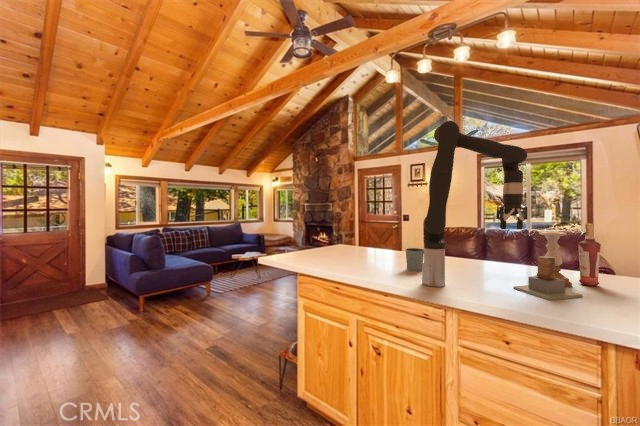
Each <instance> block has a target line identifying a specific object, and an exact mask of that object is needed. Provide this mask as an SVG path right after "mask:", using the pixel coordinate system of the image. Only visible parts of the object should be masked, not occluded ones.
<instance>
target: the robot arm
mask: <svg viewBox="0 0 640 426" xmlns="http://www.w3.org/2000/svg"><path fill="white" fill-rule="evenodd" d="M433 138H434V140H435V142H437V151H436V155H435V157H434V161H433V164H432V166H431V170H430V174H429V175H430V176H429V181H428V183H429V185H428V197H429V202H428V203H429V204H428V209H427V212H426V213H427V214H426V216H425V217H424V219H423V224H422V225H423V229H422V230H423V235H422V236H423V250H424V255H423V264H422V271H421V272H422V273H421V274H422V276H421V282H422V284H424V285H426V286H427V287H432V288H433V287H434V288H437V287H438V288H442V287H444V286H446V240H445V229H446V226H447V219H446V218H447V203H448V198H449V196H450V190H451V186H452V178H453V171H454V170H453V169H454V158H455V152H456V151H455V150H456V147H457V148H461V149H465V150H469V151H471V152H475V153H478V154H480V155H482V156H486V157H488V158H491V159H501V165H502V170H503V173H504V174H503V175H504V177H503V187H502V204H503V205H497V207H496V217H495V218H496V220H498V221H500V224H499V227H500V229H501V230H506V229H507V220H508V218H509V217H514V218H515V219H516V230H522V229H523V228H524V224H523V223H524V221H525V220H526V221H527V220H528V207H527V206H524V205H523V206H522V204H523V203H524V202H523V201H524V200H523V199H524V183H523V182H524V172H523V171H522V169H520V167H519V164H522V163H523V162H525V161H526V160H527V158H528V152H527V151H526V149H524V148H523V147H521V146H517V145H512V144H506V143H501V142H498V141H496V140H493V139H490V138H487V137H482V136H481V137H480V136H475V135H474V136H473V135H469V134H464V133H461V132H460V127H459V124H458V123H457V122H456V121H454V120H446V121H443V122H442V123H441V124H440V125H438V126H437V128H435V130H434V133H433Z"/></svg>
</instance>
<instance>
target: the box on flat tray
mask: <svg viewBox="0 0 640 426" xmlns="http://www.w3.org/2000/svg"><path fill="white" fill-rule="evenodd" d="M513 289H514V290H516V289H517V291H519V290H520V292H522V291H523V292H522V293H525V292H526V294H528V293H529V295H532V296H535V297H539V298H542V299H544V300H548V301H557V300H567V299H568V300H569V299H577V298H583V294H581V293H579V292H575V291H571V290H567V289H566V287H565V280H562V279H559V278H555V280H549V281H547V280H543V279H539V278H538V276H536V275H534V276H533V275H532V276H528V284H527V285H516V286H513Z"/></svg>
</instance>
